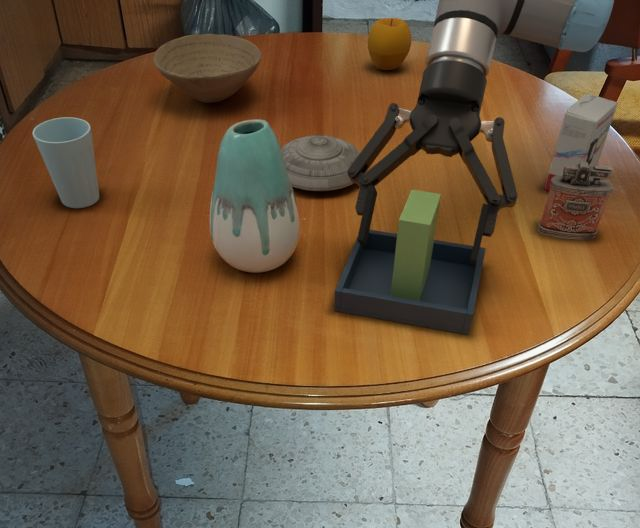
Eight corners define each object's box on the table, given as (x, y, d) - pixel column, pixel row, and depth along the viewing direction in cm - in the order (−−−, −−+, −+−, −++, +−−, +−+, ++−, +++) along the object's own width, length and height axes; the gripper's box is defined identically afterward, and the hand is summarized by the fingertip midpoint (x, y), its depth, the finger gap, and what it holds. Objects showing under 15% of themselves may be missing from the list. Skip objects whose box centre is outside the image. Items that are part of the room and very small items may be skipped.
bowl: (223, 130, 115) (218, 81, 109) (139, 106, 121) (130, 58, 115) (281, 91, 126) (280, 45, 120) (201, 71, 132) (196, 26, 126)
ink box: (572, 200, 101) (597, 121, 93) (542, 189, 103) (563, 111, 94) (594, 177, 106) (620, 100, 97) (565, 167, 108) (587, 91, 99)
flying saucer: (289, 145, 112) (288, 111, 108) (377, 159, 109) (379, 125, 105) (256, 189, 103) (254, 154, 98) (351, 206, 100) (353, 171, 95)
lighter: (537, 235, 95) (557, 168, 87) (537, 222, 97) (555, 155, 90) (596, 241, 94) (621, 174, 87) (594, 228, 96) (618, 161, 89)
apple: (387, 81, 130) (391, 30, 123) (356, 67, 134) (358, 18, 127) (417, 69, 134) (422, 19, 127) (386, 56, 138) (390, 8, 131)
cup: (104, 182, 103) (87, 113, 96) (110, 208, 99) (92, 138, 91) (53, 189, 102) (31, 120, 94) (56, 216, 97) (33, 146, 89)
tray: (481, 267, 90) (485, 247, 87) (468, 335, 81) (473, 314, 78) (359, 247, 92) (360, 228, 90) (334, 310, 83) (334, 290, 81)
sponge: (429, 271, 88) (441, 193, 80) (418, 303, 84) (430, 225, 75) (402, 266, 89) (411, 189, 80) (390, 298, 84) (398, 219, 76)
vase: (197, 252, 91) (178, 119, 78) (268, 224, 96) (261, 94, 83) (244, 295, 85) (232, 159, 72) (317, 262, 90) (319, 129, 77)
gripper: (559, 100, 81) (518, 276, 82) (358, 75, 86) (323, 242, 87) (569, 70, 73) (524, 264, 75) (348, 44, 78) (310, 227, 80)
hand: (416, 252), depth 81 cm, fingers open, 13 cm apart
